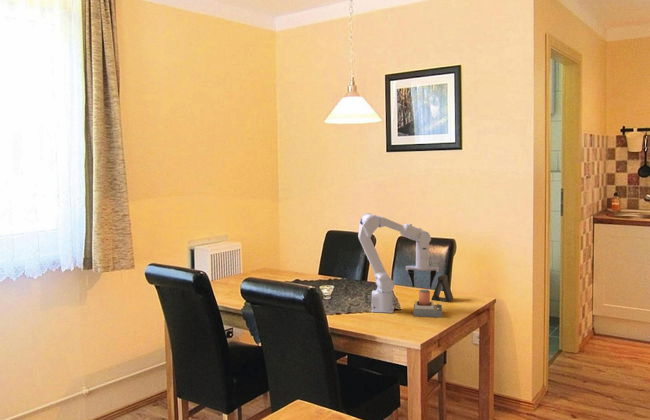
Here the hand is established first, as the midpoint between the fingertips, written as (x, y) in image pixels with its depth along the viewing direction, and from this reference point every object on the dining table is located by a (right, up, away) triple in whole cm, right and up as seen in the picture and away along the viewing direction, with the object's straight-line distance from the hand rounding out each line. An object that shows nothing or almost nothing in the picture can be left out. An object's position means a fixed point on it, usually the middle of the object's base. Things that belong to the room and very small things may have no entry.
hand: (422, 286), depth 253 cm
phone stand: (+12, -9, +15) cm, 21 cm away
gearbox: (+1, -11, -7) cm, 13 cm away
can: (0, -8, -7) cm, 11 cm away
